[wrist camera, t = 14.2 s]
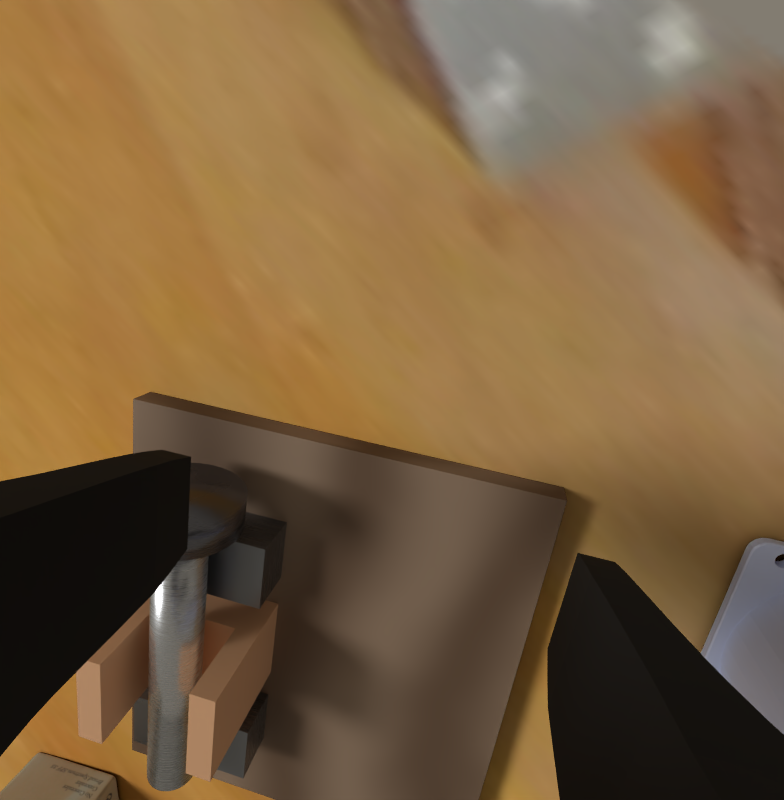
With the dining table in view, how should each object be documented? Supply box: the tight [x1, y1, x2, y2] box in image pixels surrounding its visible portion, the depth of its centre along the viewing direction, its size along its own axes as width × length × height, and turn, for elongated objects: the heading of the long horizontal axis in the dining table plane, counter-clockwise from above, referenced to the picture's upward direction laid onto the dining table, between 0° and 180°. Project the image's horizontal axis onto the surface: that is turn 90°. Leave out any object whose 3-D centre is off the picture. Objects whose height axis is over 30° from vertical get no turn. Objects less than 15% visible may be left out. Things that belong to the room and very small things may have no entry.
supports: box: [134, 512, 287, 778], centre depth 21 cm, size 5×11×2 cm, turn 171°
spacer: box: [76, 594, 278, 781], centre depth 20 cm, size 5×4×5 cm
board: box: [132, 392, 567, 800], centre depth 22 cm, size 16×18×1 cm
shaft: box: [147, 463, 248, 791], centre depth 18 cm, size 4×12×4 cm, turn 171°
